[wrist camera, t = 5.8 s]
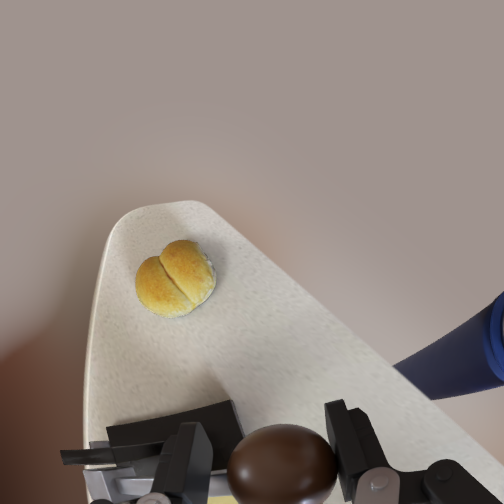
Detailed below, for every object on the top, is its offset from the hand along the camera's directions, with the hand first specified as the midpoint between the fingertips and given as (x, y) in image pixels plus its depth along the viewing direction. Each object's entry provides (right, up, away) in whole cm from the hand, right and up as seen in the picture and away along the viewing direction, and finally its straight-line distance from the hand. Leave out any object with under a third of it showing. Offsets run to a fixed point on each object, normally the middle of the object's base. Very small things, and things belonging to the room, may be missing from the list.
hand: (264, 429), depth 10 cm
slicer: (-7, -13, +12) cm, 19 cm away
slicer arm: (-3, -5, +1) cm, 6 cm away
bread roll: (-9, +3, +22) cm, 24 cm away
